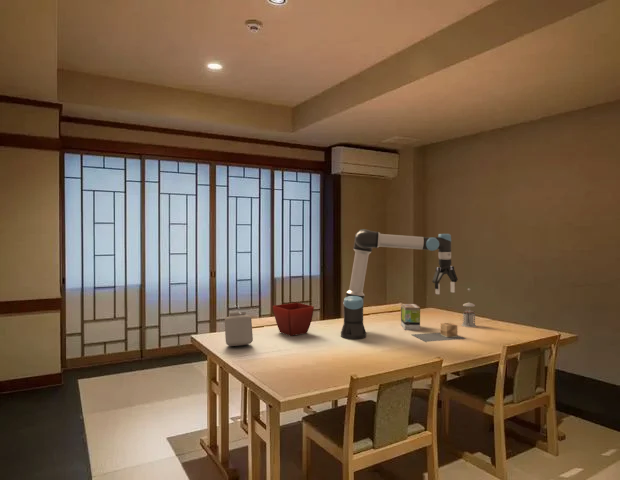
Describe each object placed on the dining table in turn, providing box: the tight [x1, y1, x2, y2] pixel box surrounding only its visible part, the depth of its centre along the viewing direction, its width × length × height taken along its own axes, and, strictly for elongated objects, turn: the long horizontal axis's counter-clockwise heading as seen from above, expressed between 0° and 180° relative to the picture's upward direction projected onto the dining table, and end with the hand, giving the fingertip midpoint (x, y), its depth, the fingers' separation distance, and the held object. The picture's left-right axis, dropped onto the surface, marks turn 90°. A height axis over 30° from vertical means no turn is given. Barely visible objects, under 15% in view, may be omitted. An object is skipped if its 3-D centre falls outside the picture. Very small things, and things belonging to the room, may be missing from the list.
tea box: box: [400, 303, 421, 331], centre depth 294 cm, size 15×10×15 cm
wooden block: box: [440, 322, 458, 337], centre depth 269 cm, size 7×7×7 cm
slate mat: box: [411, 332, 467, 343], centre depth 268 cm, size 26×18×1 cm
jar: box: [224, 305, 254, 347], centre depth 249 cm, size 19×15×25 cm
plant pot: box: [272, 302, 315, 337], centre depth 279 cm, size 19×19×17 cm
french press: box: [460, 288, 477, 328], centre depth 299 cm, size 10×12×25 cm
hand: (445, 293), depth 277 cm, fingers open, 13 cm apart
